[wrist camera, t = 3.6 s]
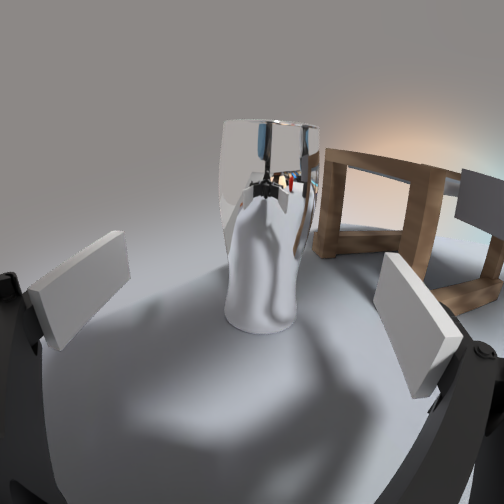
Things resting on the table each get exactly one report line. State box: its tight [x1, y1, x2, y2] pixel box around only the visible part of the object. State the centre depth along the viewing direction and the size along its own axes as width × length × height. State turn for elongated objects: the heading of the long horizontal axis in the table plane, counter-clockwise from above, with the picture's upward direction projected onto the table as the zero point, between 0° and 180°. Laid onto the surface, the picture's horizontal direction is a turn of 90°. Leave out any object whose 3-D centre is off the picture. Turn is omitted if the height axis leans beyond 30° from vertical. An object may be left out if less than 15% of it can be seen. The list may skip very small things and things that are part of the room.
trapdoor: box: [348, 165, 504, 241], centre depth 23 cm, size 14×22×4 cm, turn 13°
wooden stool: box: [312, 148, 504, 316], centre depth 29 cm, size 19×19×14 cm
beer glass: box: [219, 119, 319, 334], centre depth 21 cm, size 7×7×15 cm
